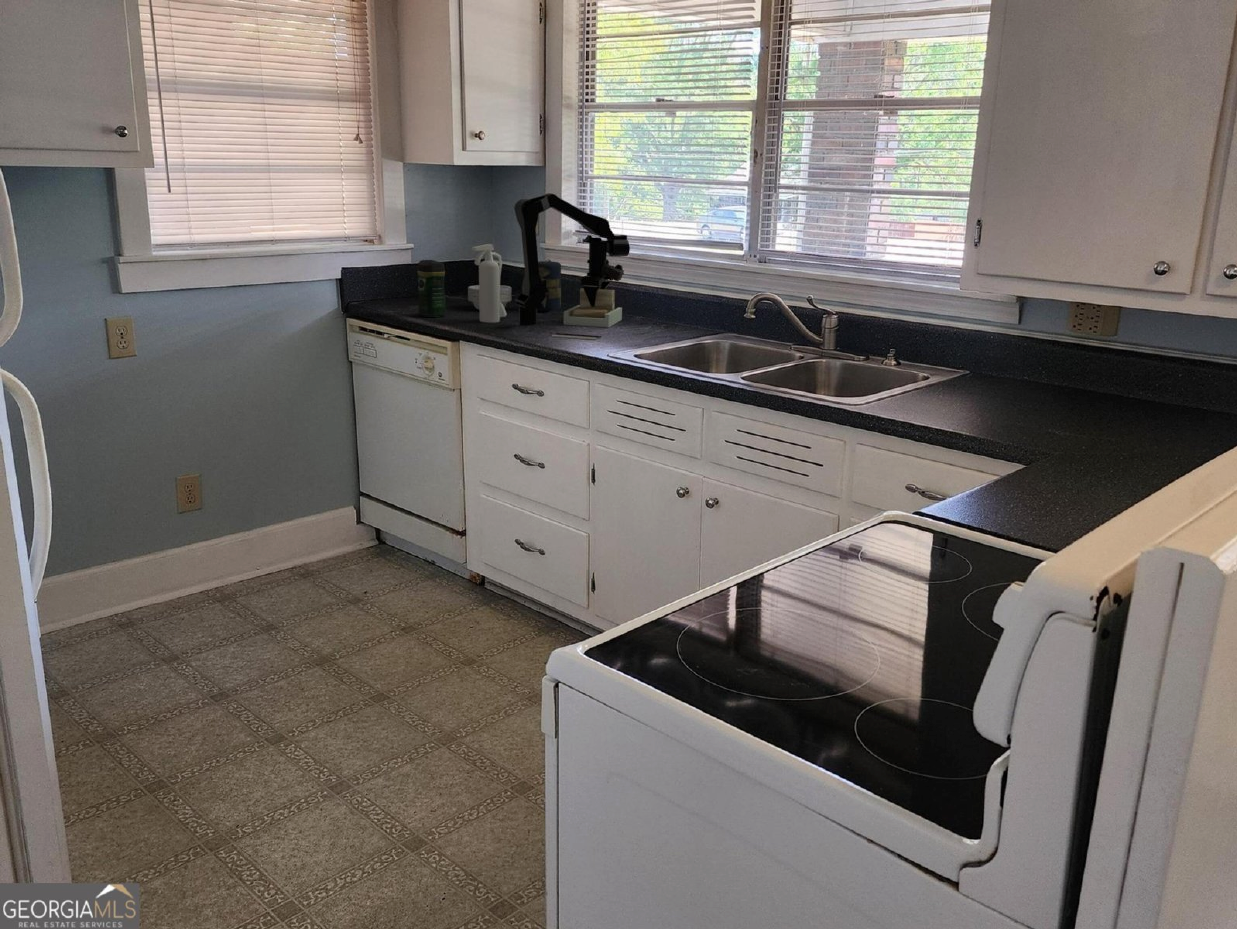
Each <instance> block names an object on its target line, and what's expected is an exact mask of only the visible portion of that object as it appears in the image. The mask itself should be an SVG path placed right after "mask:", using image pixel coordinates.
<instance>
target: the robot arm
mask: <svg viewBox="0 0 1237 929" xmlns="http://www.w3.org/2000/svg"><path fill="white" fill-rule="evenodd" d="M513 208H514V212H515V218H516V221H517V224H518V225H519V228H520V232H521V241H522V243H521V244H522V253H523V254H522V255H523V264H524V265H523V266H524V277H523V281H522V286H521V288H522V290H521V292H520V294H519V295H518V296H517V297H515V299H514V301H515V304H516V306H517V307H518V323H517V324H516V325H515V327H517V326H519V325H520V326H535V325H537V324H538V310H537V309H539V308H540V306H541V303H542V301H543V300H544V299H545V297H546V292H547V293H548V291H547V289H546V280H545V279H542V278H541V277H540V274H539V264H538V262H539V256H538V255H539V253H538V242H537V230H536V229H537V225H538V222H539V215H540V213H543V212H545V211H547V210H549V209H553V210H554V211H557V212H558V213H559V214H560V213H561V214H562V215H564V216H566V217H568V218H569V219H571V220H573V221H575V222H576V223H578V224H579V225H581V227H582V228H583V229H584V230H585V231H587V232H588V233H589V234H591V235H589V234H588V235H587V236H586V237H585V238H584V239H583V240H582V242H583V243H585V244H588V259H587V260H586V263H587V264H588V272H587V273H586V275H583V276H582V277H581V278H580V283H579V284H580V286H581V288H583V289H584V291H585V293H586V295H587V298H588V300H589V302H590V305H591V307H594V306H595V302H596V296H597V291H598V290H599V289H608V288H607V287H608V286H609V285H610V284H611V283H613V281H615V282H619V281H621V280H622V277H623V276H624V274H625V270H624V269H623V265H622V264H619V263H618V264H616V265H615V266H614V265H611V264H610V260H609V259H607V254H608V256H610V257H628V256H629V254H630V252H631V245H630V242H629V239H628V235H627V234H626V235H625V234H620V235H615V234H614V232H613V230H612V229H611V228H610V226H611V225H610V222H609V221H608V219H606V218H604V217H601V216H598V215H595V214H592V213H588V212H586V211H584V210H582V209H581V208H579V207H577V206H575V205H573V204H572V203H570V202H568V201H566V200H564V199H563V198H561V197H559V196H558V195H556V194H555V193H550V192H548V193H545V194H544V195H543V194H542V195H540V196H535V197H532V198H530V199H526V198H522V199H519V200H517V202H516V203H515V204H514V207H513ZM592 235H593V236H594V235H595V236H597V237H593V236H592ZM602 238H603V239H604V240H603V239H602Z"/></svg>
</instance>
